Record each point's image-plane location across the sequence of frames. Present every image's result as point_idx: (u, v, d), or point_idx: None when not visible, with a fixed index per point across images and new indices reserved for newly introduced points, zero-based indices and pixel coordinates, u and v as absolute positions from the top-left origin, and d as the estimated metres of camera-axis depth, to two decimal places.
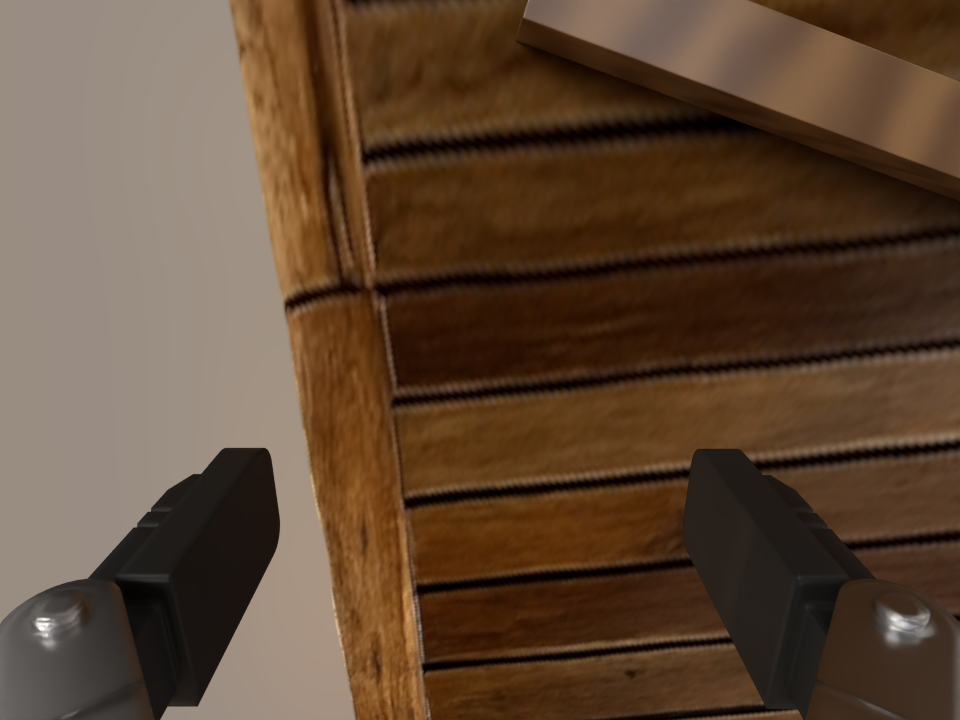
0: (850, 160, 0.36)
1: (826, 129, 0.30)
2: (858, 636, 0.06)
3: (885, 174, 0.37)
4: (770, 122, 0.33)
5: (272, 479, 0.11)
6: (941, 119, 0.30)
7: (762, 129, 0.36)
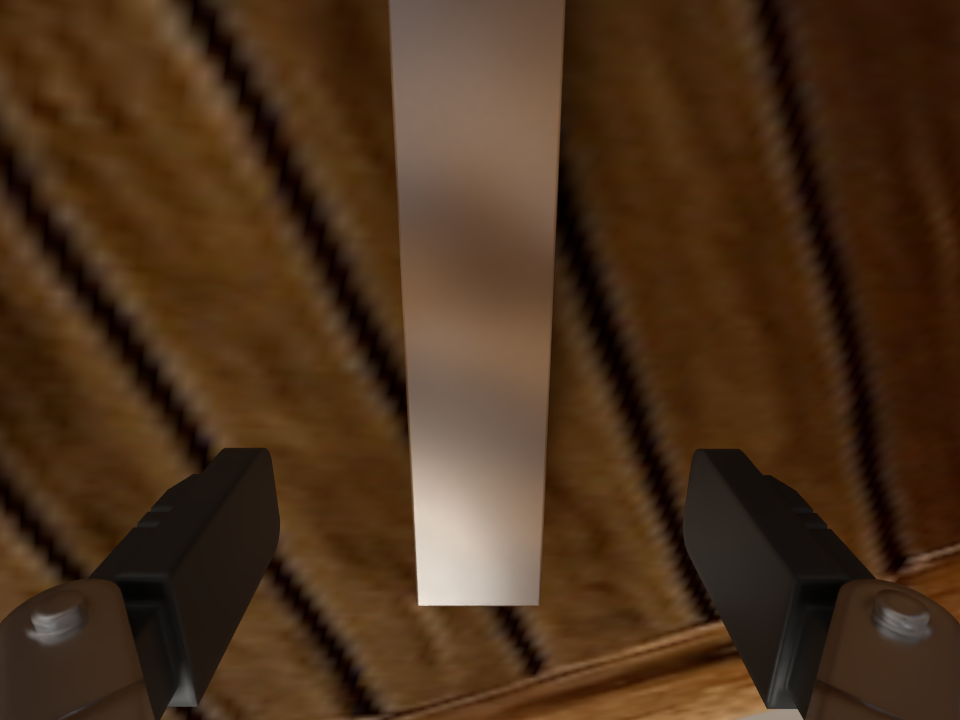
0: None
1: (563, 33, 0.13)
2: (858, 636, 0.06)
3: None
4: None
5: (272, 479, 0.11)
6: None
7: None
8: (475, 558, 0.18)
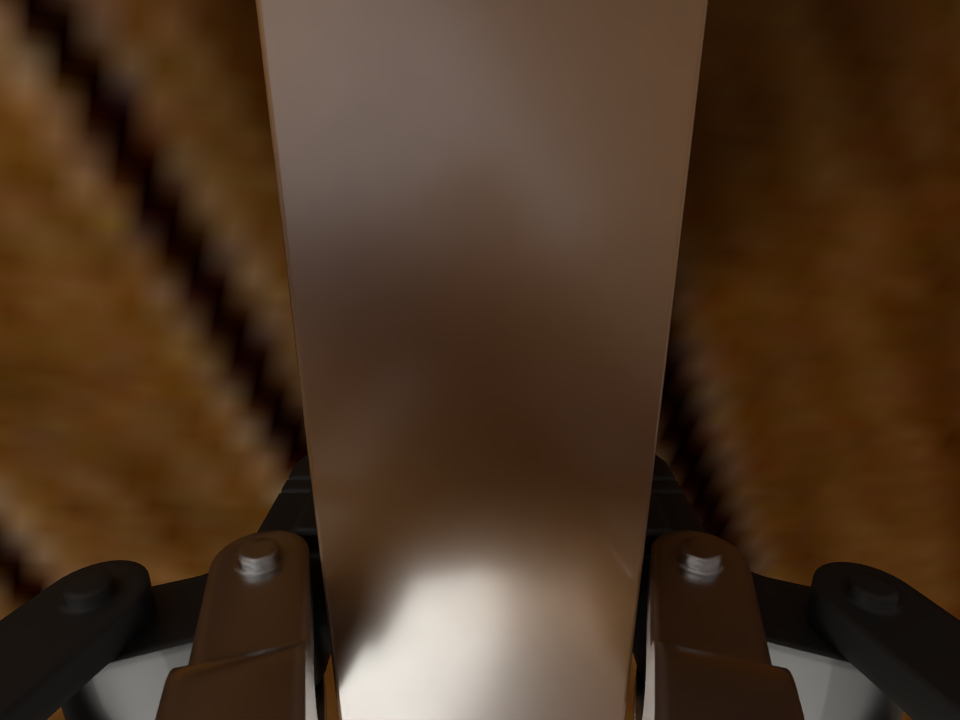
0: None
1: None
2: (674, 588, 0.07)
3: None
4: None
5: None
6: None
7: None
8: None
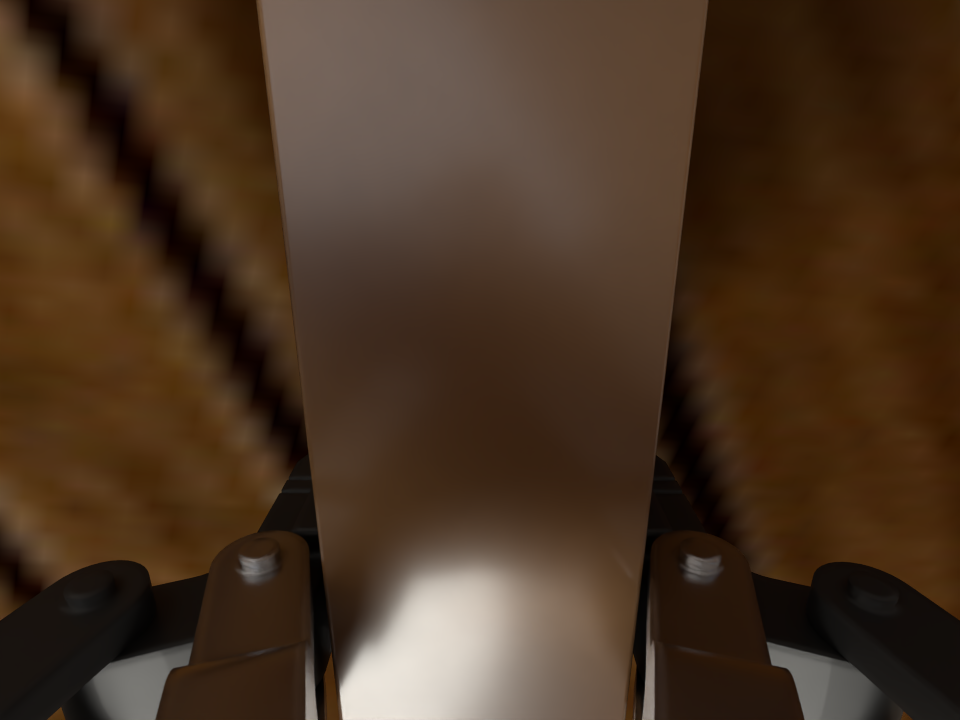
0: None
1: None
2: (674, 587, 0.07)
3: None
4: None
5: None
6: None
7: None
8: None
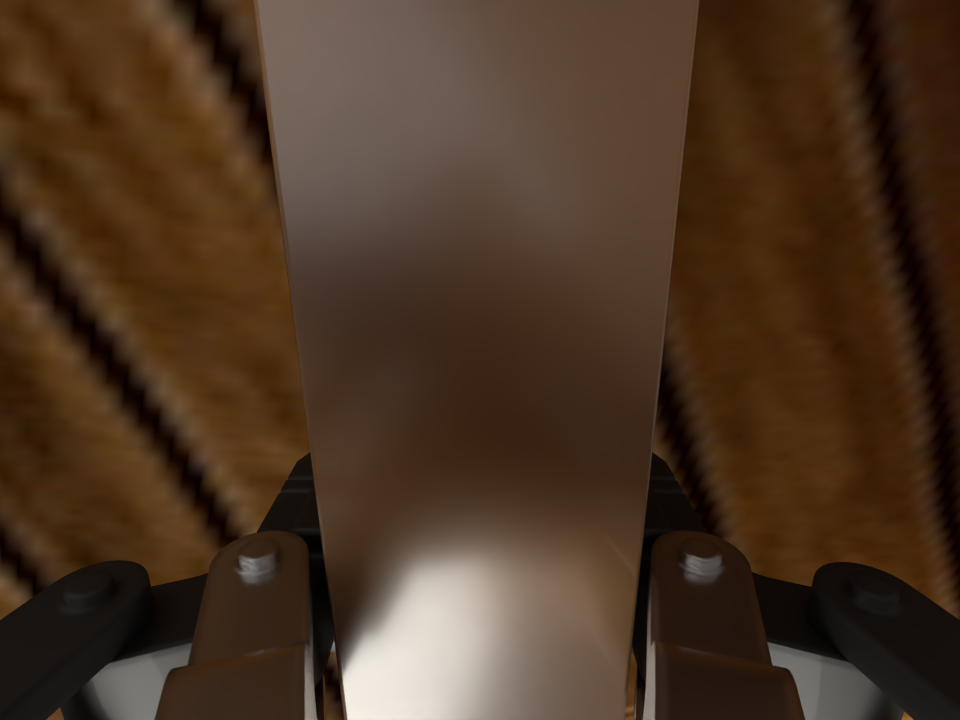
0: None
1: None
2: (674, 588, 0.07)
3: None
4: None
5: None
6: None
7: None
8: None
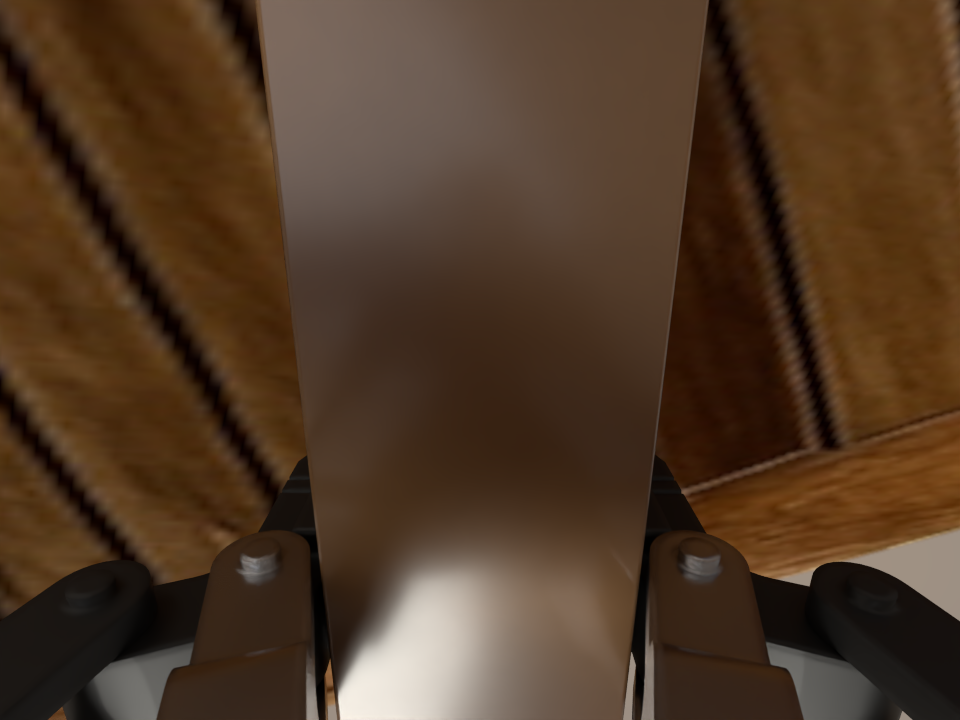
0: None
1: None
2: (673, 587, 0.07)
3: None
4: None
5: None
6: None
7: None
8: None
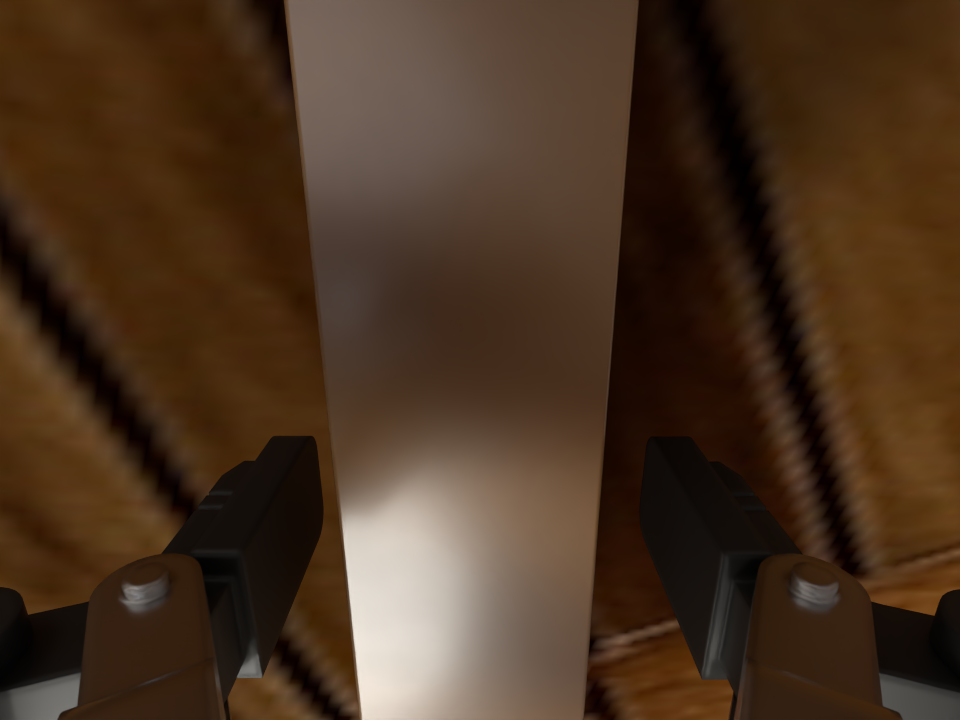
0: None
1: None
2: (779, 610, 0.07)
3: None
4: None
5: (317, 466, 0.11)
6: None
7: None
8: None
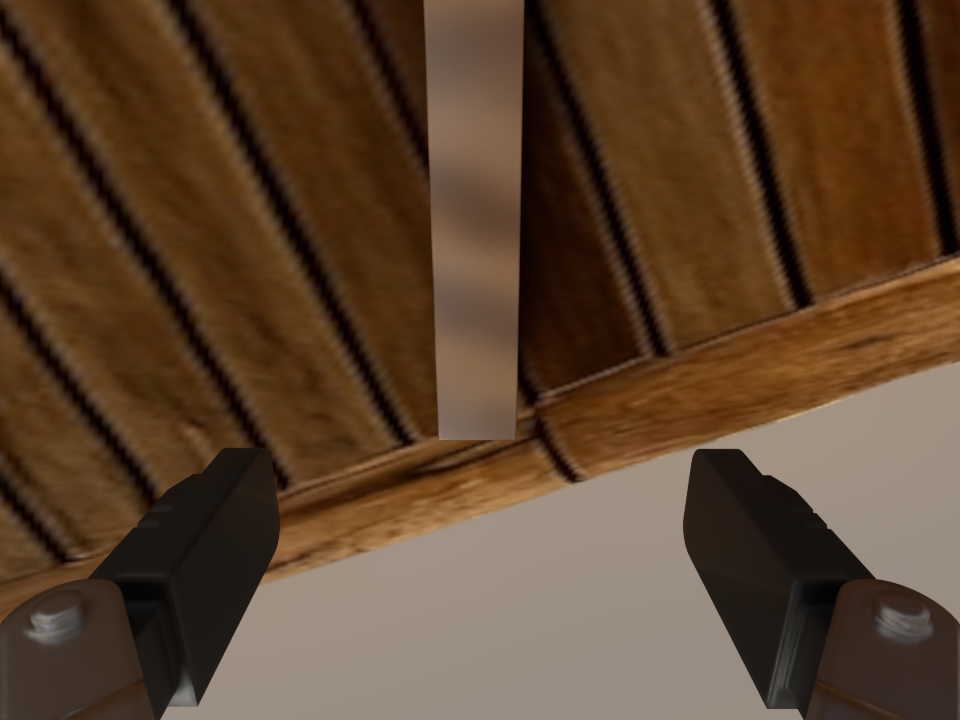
0: None
1: (522, 87, 0.25)
2: (858, 636, 0.06)
3: None
4: None
5: (272, 479, 0.11)
6: None
7: None
8: (475, 406, 0.30)
